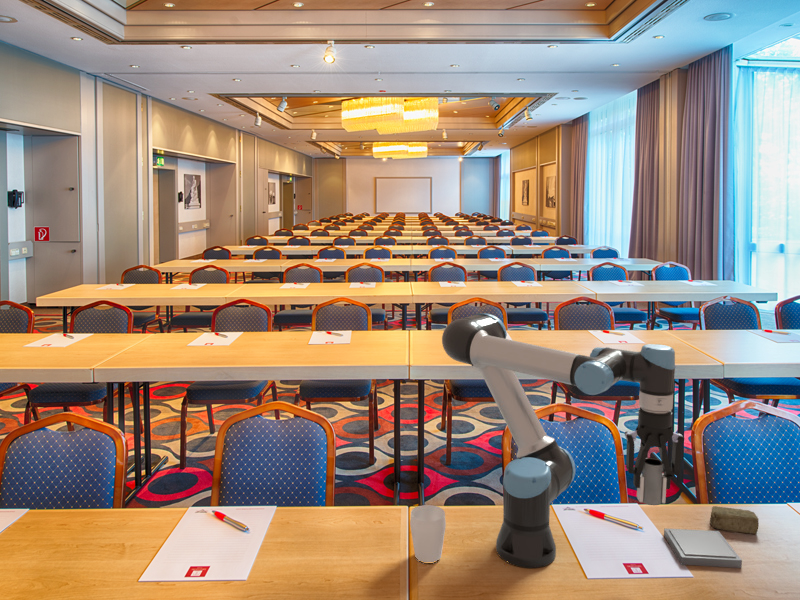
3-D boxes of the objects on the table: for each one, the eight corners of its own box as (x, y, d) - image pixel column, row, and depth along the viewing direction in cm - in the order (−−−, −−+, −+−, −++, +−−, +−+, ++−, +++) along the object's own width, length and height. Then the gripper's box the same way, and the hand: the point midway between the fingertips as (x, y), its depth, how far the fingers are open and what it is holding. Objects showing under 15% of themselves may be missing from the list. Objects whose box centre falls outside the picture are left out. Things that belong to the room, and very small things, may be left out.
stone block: (759, 536, 161) (760, 519, 160) (712, 530, 165) (712, 513, 164) (753, 526, 167) (754, 509, 166) (708, 520, 170) (708, 504, 169)
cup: (450, 552, 155) (450, 508, 153) (438, 570, 147) (438, 524, 145) (418, 544, 159) (418, 502, 157) (404, 562, 151) (404, 517, 149)
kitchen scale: (681, 564, 148) (682, 556, 148) (663, 535, 162) (664, 527, 162) (741, 567, 146) (742, 559, 146) (718, 538, 160) (718, 529, 160)
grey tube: (638, 497, 149) (640, 457, 148) (656, 497, 149) (658, 457, 148) (645, 505, 145) (646, 465, 143) (663, 505, 145) (666, 465, 143)
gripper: (621, 412, 141) (617, 505, 144) (699, 415, 139) (693, 509, 142) (614, 403, 149) (610, 491, 152) (688, 405, 146) (683, 494, 150)
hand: (650, 500), depth 147 cm, fingers closed on grey tube, 4 cm apart
